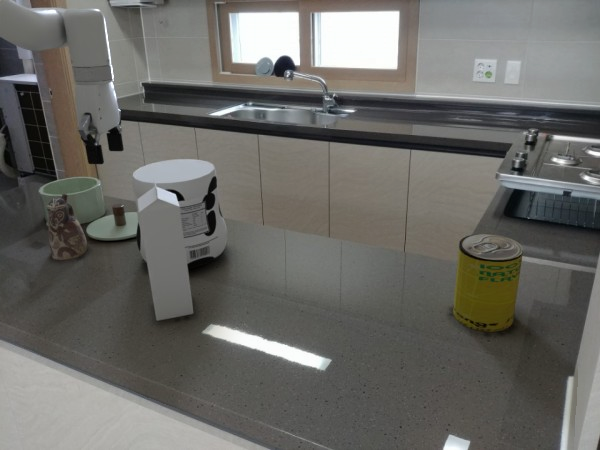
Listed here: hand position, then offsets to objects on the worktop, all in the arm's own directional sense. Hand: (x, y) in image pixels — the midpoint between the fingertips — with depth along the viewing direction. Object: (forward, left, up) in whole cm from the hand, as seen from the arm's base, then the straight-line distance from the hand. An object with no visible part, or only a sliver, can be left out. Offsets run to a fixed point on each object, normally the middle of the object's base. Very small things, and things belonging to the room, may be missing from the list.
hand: (106, 157), depth 115 cm
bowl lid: (0, 0, -16) cm, 16 cm away
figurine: (-6, -12, -17) cm, 22 cm away
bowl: (-15, +8, -17) cm, 24 cm away
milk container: (+19, -13, -17) cm, 29 cm away
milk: (+23, -32, -17) cm, 43 cm away
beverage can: (+73, -31, -17) cm, 82 cm away
